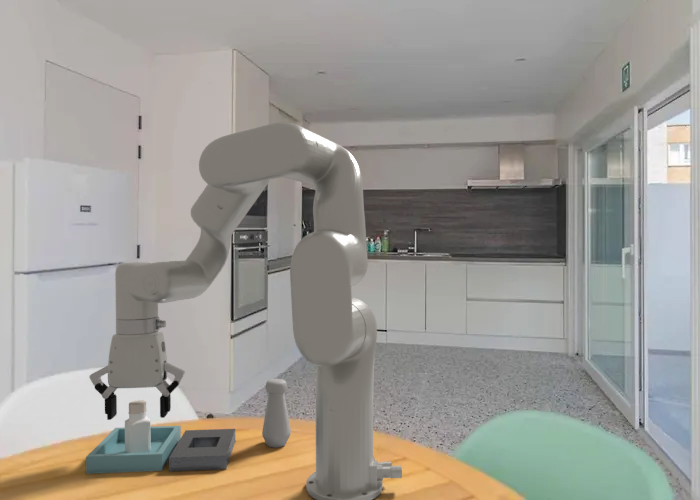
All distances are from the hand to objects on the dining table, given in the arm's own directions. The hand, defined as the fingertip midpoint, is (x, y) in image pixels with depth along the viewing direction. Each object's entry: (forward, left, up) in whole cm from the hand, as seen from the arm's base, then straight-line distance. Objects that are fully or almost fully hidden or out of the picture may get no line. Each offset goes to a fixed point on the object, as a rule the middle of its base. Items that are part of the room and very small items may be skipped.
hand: (138, 416), depth 101 cm
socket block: (-13, +1, -8) cm, 15 cm away
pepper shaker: (0, 0, -7) cm, 7 cm away
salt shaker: (-26, -4, -8) cm, 27 cm away
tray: (0, 0, -8) cm, 8 cm away
